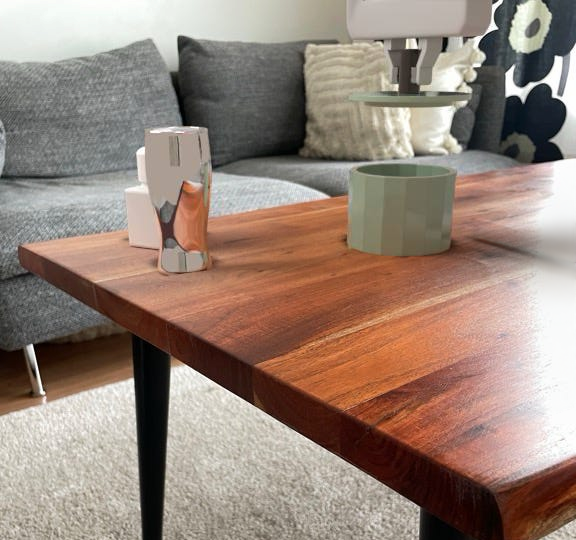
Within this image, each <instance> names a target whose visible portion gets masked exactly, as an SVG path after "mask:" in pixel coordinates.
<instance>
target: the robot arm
mask: <svg viewBox="0 0 576 540" xmlns="http://www.w3.org/2000/svg"><path fill="white" fill-rule="evenodd" d="M492 16H493V0H346V28H347V32H348V35H349V36H350V39H351V40H352V41H383V50H382V51H383V54H384V56H385V59H386V62H387V66H388V67H389V77H388V81H389V84H391V85H398V83H399V64H400V49H407V40H410V39H411V40H412V39H413V40H414V39H415V40H416V39H418V46H417V49H419V50H422V51H421V54H420V57H419V60H418V63H417V66H416V67H412V68H411V76H412V77H411V84H412V85H420V86H430V85H431V84H432V81H433V68H434V67H435V65H436V62H437V61H438V58H439V56H440V55H441V52H442V50H443V40H444V38H463V37H466V38H467V37H483V36H485V34H486V33H487V31H488V30H489V27H490V26H491V24H492Z"/></svg>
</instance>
